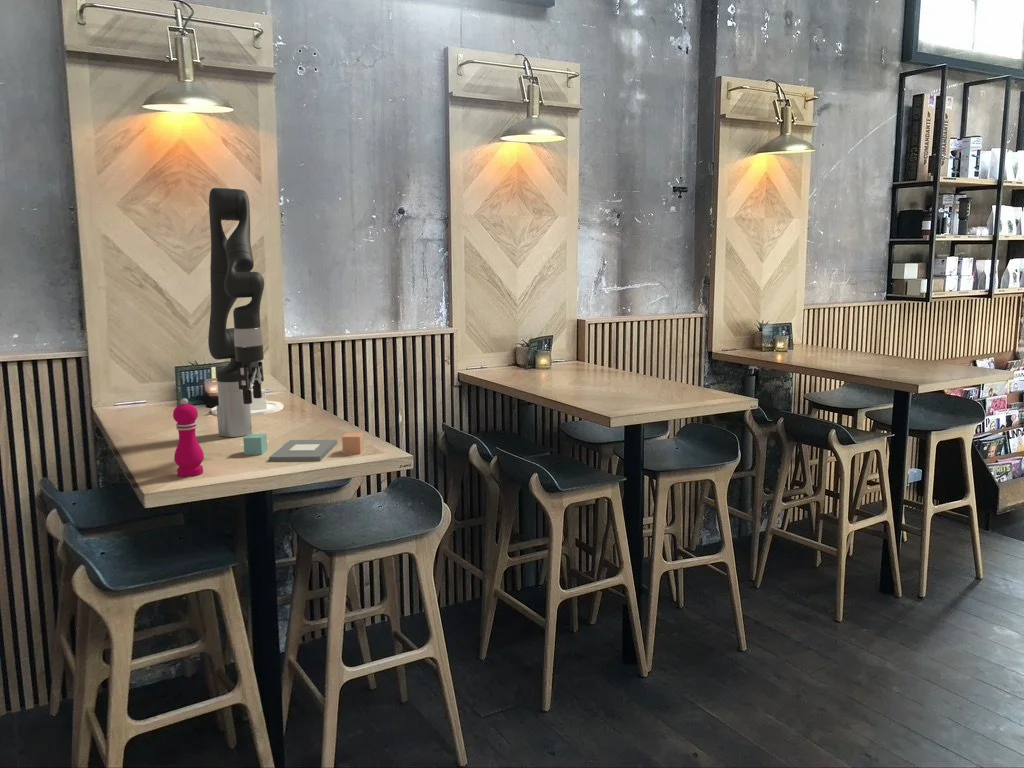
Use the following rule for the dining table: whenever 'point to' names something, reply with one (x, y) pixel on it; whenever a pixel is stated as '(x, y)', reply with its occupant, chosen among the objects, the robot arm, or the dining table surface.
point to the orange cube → (353, 443)
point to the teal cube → (255, 444)
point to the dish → (260, 405)
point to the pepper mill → (187, 441)
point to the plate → (303, 450)
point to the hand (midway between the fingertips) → (252, 400)
